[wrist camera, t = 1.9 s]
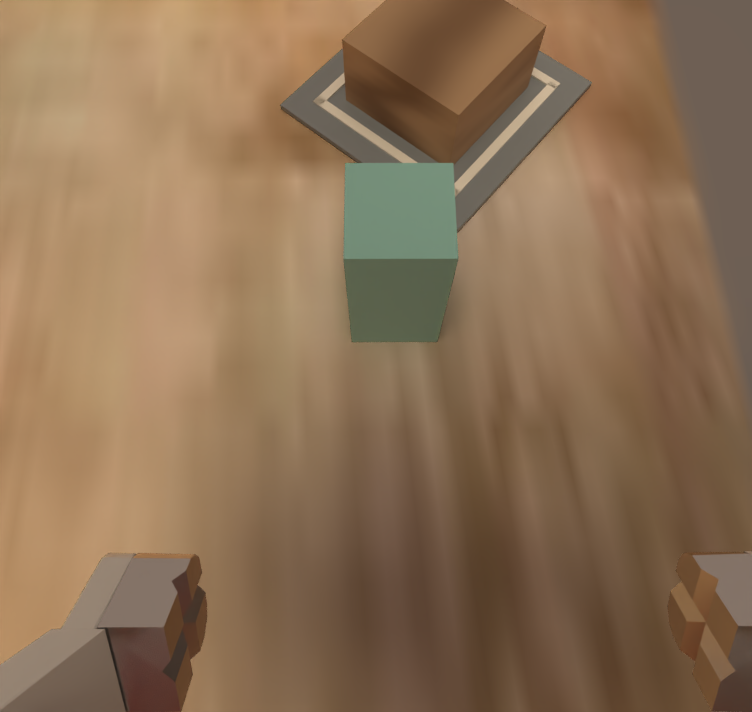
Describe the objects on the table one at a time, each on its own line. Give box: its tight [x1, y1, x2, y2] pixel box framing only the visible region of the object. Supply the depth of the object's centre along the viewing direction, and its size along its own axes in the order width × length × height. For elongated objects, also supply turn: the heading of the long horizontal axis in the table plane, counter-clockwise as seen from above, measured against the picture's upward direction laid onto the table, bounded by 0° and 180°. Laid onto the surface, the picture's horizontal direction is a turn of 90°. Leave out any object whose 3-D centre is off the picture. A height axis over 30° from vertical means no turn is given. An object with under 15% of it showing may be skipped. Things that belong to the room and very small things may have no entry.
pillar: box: [344, 163, 458, 342], centre depth 26 cm, size 4×4×8 cm
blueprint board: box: [280, 49, 592, 233], centre depth 34 cm, size 12×12×1 cm
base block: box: [342, 0, 546, 165], centre depth 32 cm, size 7×7×4 cm
